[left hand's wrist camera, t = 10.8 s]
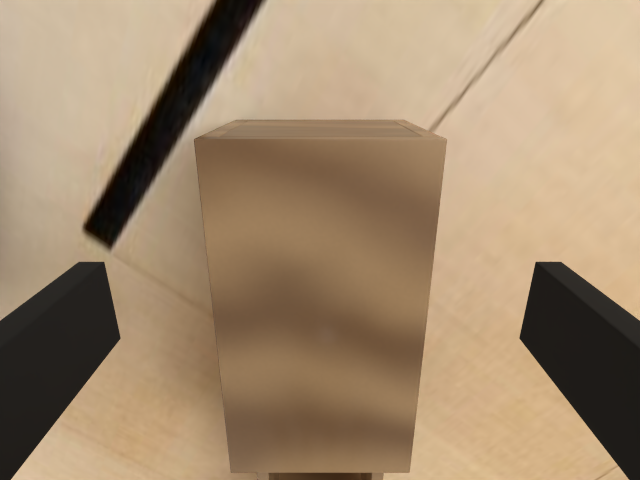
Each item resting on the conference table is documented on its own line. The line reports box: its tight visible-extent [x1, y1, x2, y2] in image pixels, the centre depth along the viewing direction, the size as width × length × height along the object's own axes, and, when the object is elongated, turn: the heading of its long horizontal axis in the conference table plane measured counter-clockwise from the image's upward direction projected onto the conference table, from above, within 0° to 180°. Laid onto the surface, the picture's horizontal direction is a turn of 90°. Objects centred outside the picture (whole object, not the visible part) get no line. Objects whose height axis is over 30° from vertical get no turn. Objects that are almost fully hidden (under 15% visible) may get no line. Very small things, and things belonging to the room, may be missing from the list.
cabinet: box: [194, 120, 447, 473], centre depth 26 cm, size 21×11×10 cm, turn 0°
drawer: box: [257, 473, 383, 480], centre depth 31 cm, size 26×10×8 cm, turn 0°
